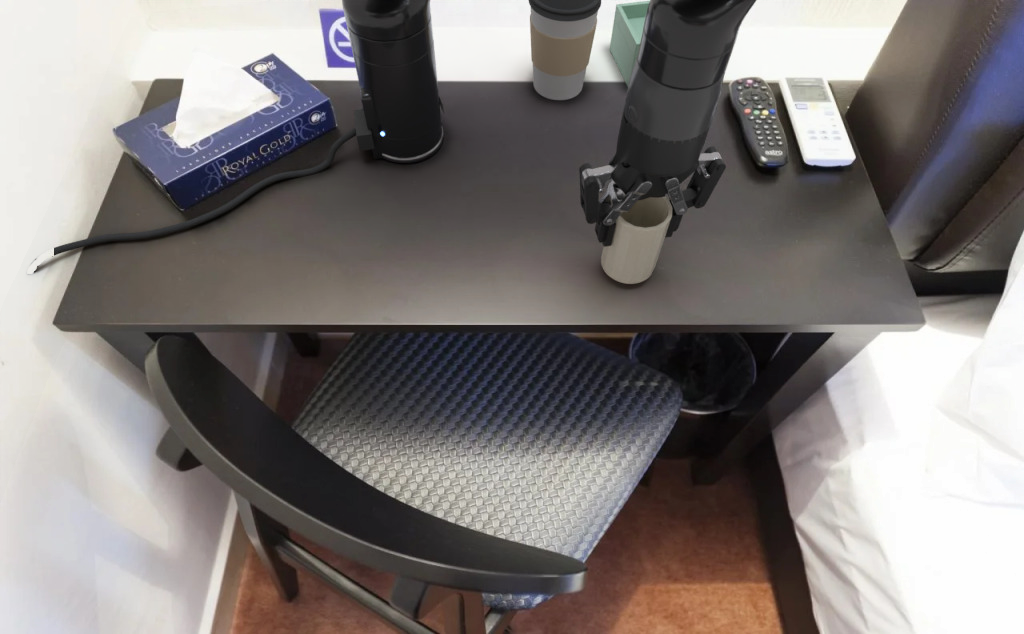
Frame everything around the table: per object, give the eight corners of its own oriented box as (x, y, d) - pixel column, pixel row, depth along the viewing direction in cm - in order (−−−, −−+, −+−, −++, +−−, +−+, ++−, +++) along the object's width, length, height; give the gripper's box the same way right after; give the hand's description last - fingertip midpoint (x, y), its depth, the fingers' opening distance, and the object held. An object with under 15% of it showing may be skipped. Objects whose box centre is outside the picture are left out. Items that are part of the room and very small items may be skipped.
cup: (609, 287, 72) (622, 234, 65) (594, 245, 76) (605, 189, 68) (661, 279, 73) (680, 225, 66) (645, 238, 76) (661, 182, 69)
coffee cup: (585, 109, 90) (598, 6, 78) (520, 100, 91) (522, -4, 79) (594, 68, 95) (608, -36, 82) (532, 60, 96) (536, -44, 83)
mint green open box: (628, 88, 93) (639, 30, 85) (609, 49, 98) (618, -10, 90) (690, 80, 94) (706, 22, 86) (668, 41, 99) (682, -17, 91)
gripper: (731, 70, 59) (686, 201, 73) (576, 89, 58) (560, 218, 72) (765, 127, 55) (710, 253, 69) (599, 148, 54) (577, 273, 68)
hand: (634, 235), depth 70 cm, fingers closed on cup, 6 cm apart
